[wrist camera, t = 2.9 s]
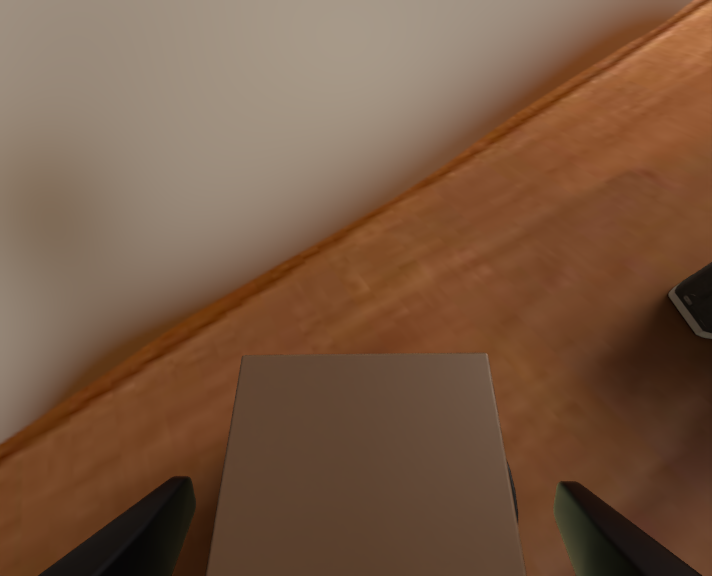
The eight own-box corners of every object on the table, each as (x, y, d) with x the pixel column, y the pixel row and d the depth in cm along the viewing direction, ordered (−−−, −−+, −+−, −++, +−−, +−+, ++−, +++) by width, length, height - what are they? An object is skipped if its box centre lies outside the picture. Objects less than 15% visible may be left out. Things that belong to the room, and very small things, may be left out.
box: (537, 680, 12) (800, 1010, 4) (217, 667, 13) (-22, 936, 5) (483, 360, 17) (562, 266, 10) (260, 362, 18) (174, 275, 10)
